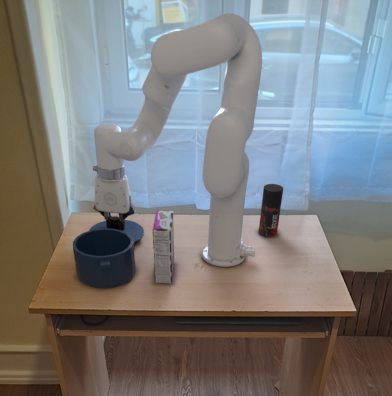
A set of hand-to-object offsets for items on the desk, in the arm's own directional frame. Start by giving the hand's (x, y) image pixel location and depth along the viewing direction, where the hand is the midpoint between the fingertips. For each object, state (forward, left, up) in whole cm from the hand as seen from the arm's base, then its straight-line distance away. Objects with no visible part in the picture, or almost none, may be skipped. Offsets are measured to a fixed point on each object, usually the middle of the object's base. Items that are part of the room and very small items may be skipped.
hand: (116, 230), depth 153 cm
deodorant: (-46, -14, -3) cm, 48 cm away
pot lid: (0, 0, -1) cm, 1 cm away
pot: (-3, +20, -3) cm, 20 cm away
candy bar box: (-19, +17, -3) cm, 26 cm away
